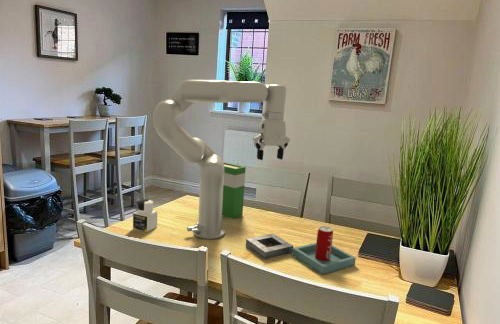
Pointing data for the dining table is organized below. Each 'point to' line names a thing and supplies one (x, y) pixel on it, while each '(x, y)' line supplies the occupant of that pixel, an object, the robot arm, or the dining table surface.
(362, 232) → the dining table surface
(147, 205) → the medicine bottle
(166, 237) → the dining table surface
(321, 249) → the soda can
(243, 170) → the green cereal box
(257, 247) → the grey square frame
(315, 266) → the tray
